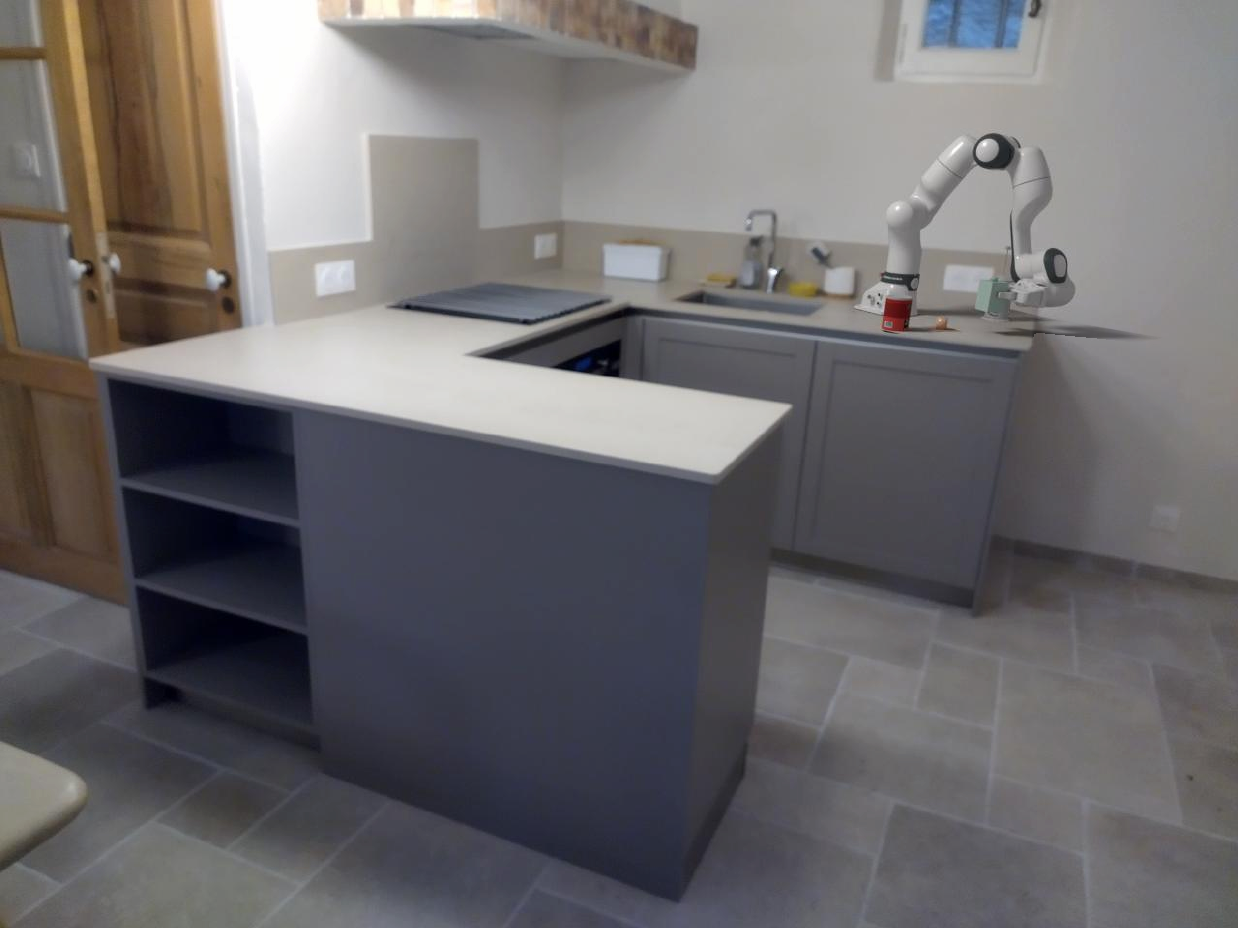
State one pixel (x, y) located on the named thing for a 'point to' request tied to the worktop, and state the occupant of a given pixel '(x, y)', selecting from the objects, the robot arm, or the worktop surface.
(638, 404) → the worktop surface
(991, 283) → the mint green square bottle
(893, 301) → the canned food
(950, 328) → the trivet
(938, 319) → the ball
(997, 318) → the french press
